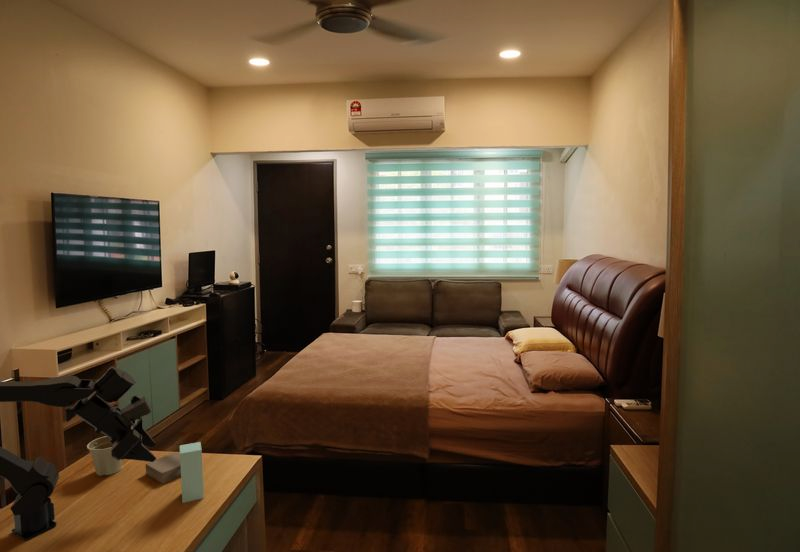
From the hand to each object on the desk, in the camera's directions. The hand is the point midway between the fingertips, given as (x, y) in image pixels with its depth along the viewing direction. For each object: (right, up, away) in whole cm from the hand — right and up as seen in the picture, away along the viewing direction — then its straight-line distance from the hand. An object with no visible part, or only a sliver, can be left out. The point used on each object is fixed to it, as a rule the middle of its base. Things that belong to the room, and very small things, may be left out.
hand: (154, 452), depth 121 cm
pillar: (+8, -13, +5) cm, 16 cm away
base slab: (-4, -12, +17) cm, 21 cm away
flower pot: (-22, -12, +17) cm, 30 cm away
